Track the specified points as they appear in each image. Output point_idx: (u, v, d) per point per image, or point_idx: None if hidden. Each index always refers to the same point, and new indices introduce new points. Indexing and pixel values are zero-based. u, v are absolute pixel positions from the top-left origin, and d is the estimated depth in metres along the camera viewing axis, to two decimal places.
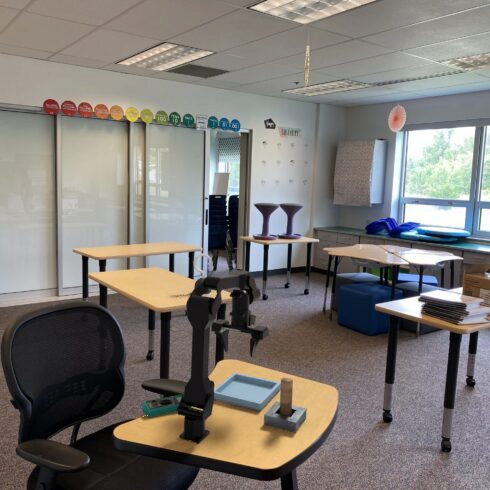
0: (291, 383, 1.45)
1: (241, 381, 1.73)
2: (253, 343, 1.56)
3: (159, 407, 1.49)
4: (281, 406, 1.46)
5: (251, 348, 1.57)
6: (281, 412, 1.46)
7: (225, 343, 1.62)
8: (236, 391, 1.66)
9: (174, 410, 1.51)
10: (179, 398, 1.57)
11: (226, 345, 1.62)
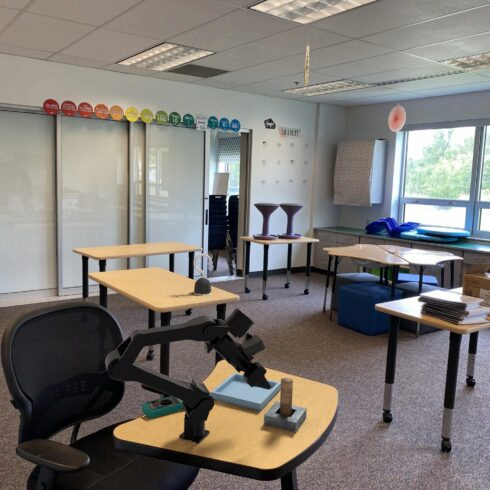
0: (291, 383, 1.45)
1: (241, 381, 1.73)
2: None
3: (161, 407, 1.49)
4: (281, 406, 1.46)
5: None
6: (281, 412, 1.46)
7: None
8: (236, 391, 1.66)
9: (175, 410, 1.51)
10: None
11: None
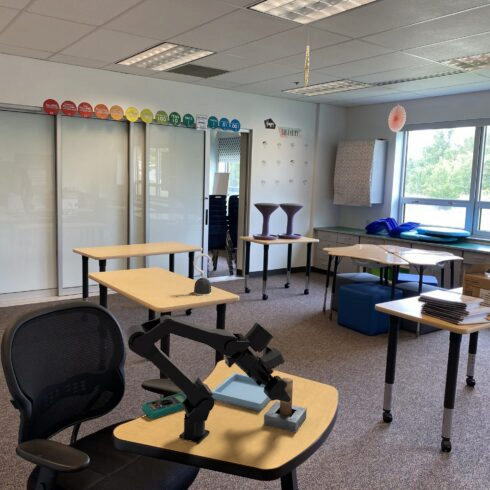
0: (291, 383, 1.45)
1: (241, 381, 1.73)
2: None
3: (162, 408, 1.49)
4: (281, 406, 1.46)
5: None
6: (281, 412, 1.46)
7: (268, 384, 1.49)
8: (236, 391, 1.66)
9: (176, 409, 1.51)
10: (177, 397, 1.57)
11: None
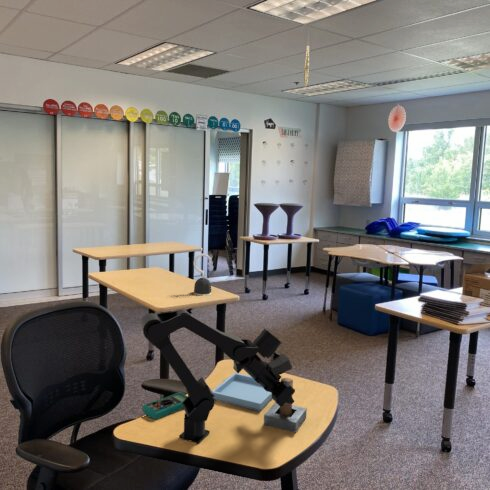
0: (291, 383, 1.45)
1: (241, 381, 1.73)
2: None
3: (164, 408, 1.49)
4: (281, 406, 1.46)
5: None
6: (281, 412, 1.46)
7: None
8: (236, 391, 1.66)
9: (177, 409, 1.52)
10: (176, 397, 1.57)
11: None
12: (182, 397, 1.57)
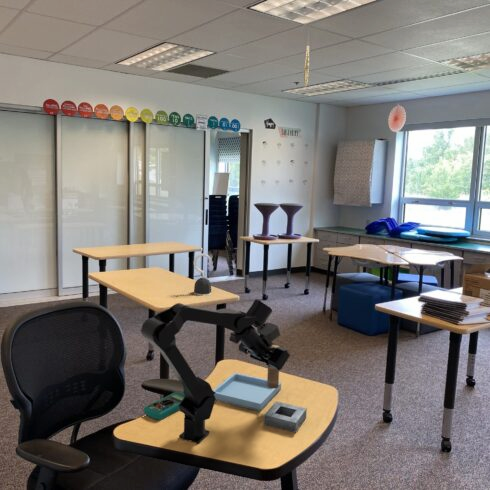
0: None
1: (241, 381, 1.73)
2: None
3: (166, 408, 1.49)
4: (270, 372, 1.53)
5: None
6: (270, 378, 1.53)
7: (265, 360, 1.55)
8: (236, 391, 1.66)
9: None
10: (174, 396, 1.58)
11: (268, 360, 1.55)
12: (180, 396, 1.58)
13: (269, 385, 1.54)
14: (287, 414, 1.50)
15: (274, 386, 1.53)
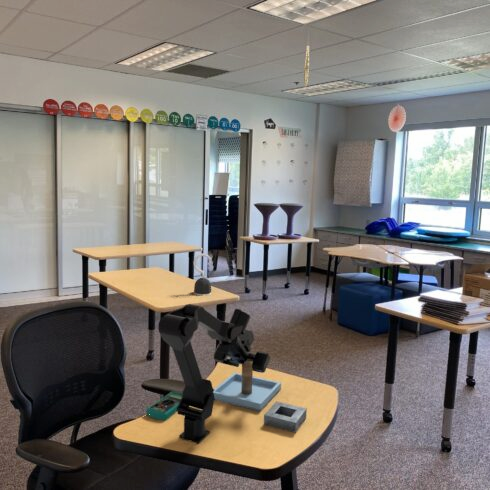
0: None
1: (241, 381, 1.73)
2: None
3: (170, 408, 1.49)
4: (245, 380, 1.62)
5: None
6: (246, 385, 1.63)
7: (234, 364, 1.64)
8: (236, 391, 1.66)
9: None
10: (172, 396, 1.58)
11: (235, 363, 1.65)
12: (178, 395, 1.58)
13: (245, 392, 1.63)
14: (287, 414, 1.50)
15: (249, 392, 1.63)
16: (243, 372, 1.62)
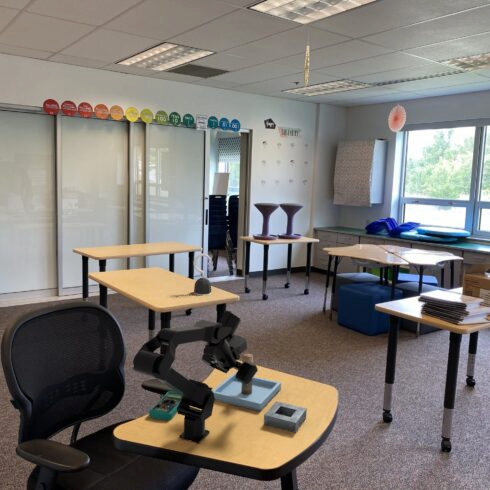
0: None
1: None
2: None
3: (172, 407, 1.50)
4: None
5: None
6: (246, 385, 1.63)
7: (221, 369, 1.56)
8: (236, 391, 1.66)
9: None
10: (170, 396, 1.58)
11: (223, 369, 1.57)
12: (176, 395, 1.59)
13: (245, 392, 1.63)
14: (287, 414, 1.50)
15: (249, 392, 1.63)
16: None
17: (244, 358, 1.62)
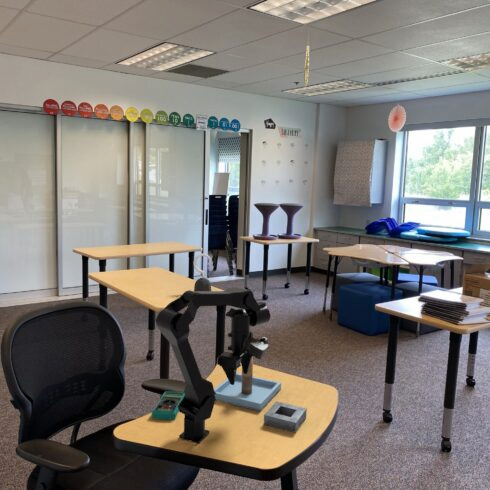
0: (252, 357, 1.63)
1: (241, 381, 1.73)
2: None
3: (174, 407, 1.50)
4: (245, 380, 1.62)
5: None
6: (246, 385, 1.63)
7: (242, 363, 1.52)
8: (236, 391, 1.66)
9: None
10: (168, 396, 1.58)
11: (244, 366, 1.52)
12: (173, 394, 1.59)
13: (245, 392, 1.63)
14: (287, 414, 1.50)
15: (249, 392, 1.63)
16: None
17: None
